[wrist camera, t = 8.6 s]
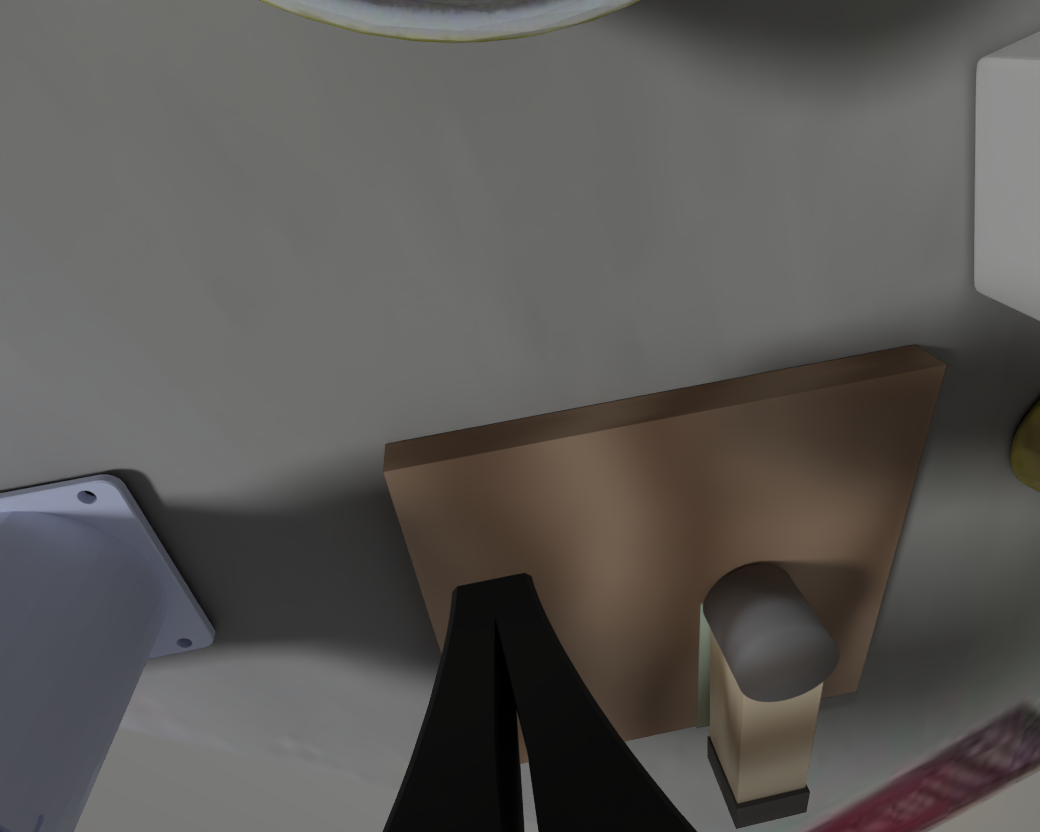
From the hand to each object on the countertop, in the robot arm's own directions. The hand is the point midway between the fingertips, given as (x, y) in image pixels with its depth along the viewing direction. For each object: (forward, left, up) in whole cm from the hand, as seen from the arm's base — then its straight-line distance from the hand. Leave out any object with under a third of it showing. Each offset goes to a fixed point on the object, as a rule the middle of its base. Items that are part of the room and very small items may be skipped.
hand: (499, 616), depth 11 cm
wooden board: (+6, -11, -9) cm, 16 cm away
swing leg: (+9, -16, -8) cm, 20 cm away
